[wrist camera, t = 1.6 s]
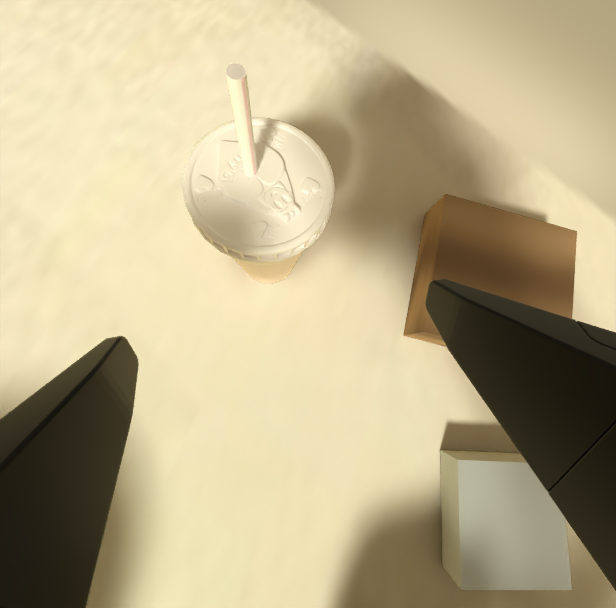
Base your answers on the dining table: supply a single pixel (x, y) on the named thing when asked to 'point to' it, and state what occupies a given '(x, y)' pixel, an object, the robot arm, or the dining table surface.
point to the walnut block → (491, 260)
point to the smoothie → (258, 188)
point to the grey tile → (500, 525)
